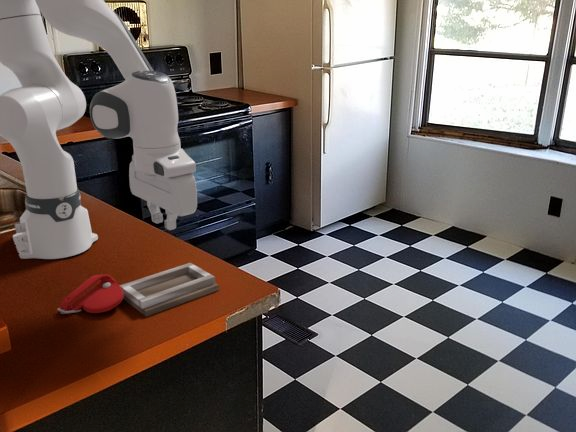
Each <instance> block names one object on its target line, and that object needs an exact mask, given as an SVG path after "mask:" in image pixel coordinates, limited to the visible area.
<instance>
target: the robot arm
mask: <svg viewBox="0 0 576 432" xmlns="http://www.w3.org/2000/svg"><path fill="white" fill-rule="evenodd" d="M42 17H43V18H44V19H45V20H46V21H47V23H48V24H49V26H51V27H52V28H53V29H55V30H56V31H58V32H60V33H62V34H65V35H68V36H71V37H74V38H79V39H81V40H85V41H86V42H90V43H92V44H95V45H97V46H98V47H100V48H101V49H102V50H104V51H106V53H107V54H108V55H109V56H110V57H111V59H112V60H113V62H114V64H115V65H116V67H117V68H118V70H119V72H120V73H121V75H122V77H123V78H124V80H123V81H122V82H121V83H118V84H117V85H114V86H112V87H108V88H105V89H103V90H101V91H98V92H96V93H95V94H94V96H93V97H92V99H91V102H90V105H89V117H90V120H91V123H92V126H93V127H94V129H95V130H96V131H97V133H99V135H101V136H102V137H104V138H106V139H122V138H126V137H130V138H131V139H132V146H133V147H132V148H133V154H132V156H131V162H130V163H129V168H128V169H129V170H128V173H129V174H128V177H129V178H128V179H129V188H130V192H131V194H132V195H134V196H135V197H138V198H140V199H142V200H144V201H146V205H147V208H148V210H149V212H150V214H151V221H152V222H153V223H155V224H160V223H163V222H164V228H165V229H167V230H168V231H172V230H175V229H176V228H177V219H178V217H184V216H188V215H192V214H194V213H195V212H196V210H197V208H198V195H197V194H198V192H197V182H196V178H195V176H194V174H193V173H195V172H196V170H197V165H196V162H195V160H193V158H192V157H190V156H189V155H188V154H187V153H186V152H185V149H183V148H181V138H180V136H179V133H178V126H179V125H178V124H179V109H178V99H177V94H176V90H175V86H174V83H173V81H172V79H171V77H169V76H168V75H167V74H165V73H162V72H160V71H156V70H154V69H153V67H152V65H151V64H150V63H149V61H148V59H147V57H146V56H145V54H144V53H143V51H142V49H141V47H140V46H139V43H138V42H137V41H136V39H135V38H134V36H133V34H132V33H131V31H130V29H129V28H128V26H127V25H126V23H125V22H124V20H123V19H122V18H121V17H120V16H119V15H118V14H117V12H115V11H114V10H113V9H112V8H111V7H110V6H109V5H108V3H106V1H105V0H0V64H1V65H3V67H6V68H8V69H9V70H10V71H11V72H12V73H13V74H14V76H15V77H17V80H18V81H19V82H20V83H19V84H20V85H21V86H20V87H15V88H12V89H9V90H7V91H5V92H3V93H1V94H0V137H2V139H4V140H7V142H9V143H10V145H11V146H12V147H13V150H14V151H15V153H16V155H17V157H18V160H19V161H20V165H21V168H22V173H23V179H24V183H25V184H24V185H25V189H26V194H25V199H24V204H25V210H24V212H23V213H22V215H21V216H20V217H19V222H20V223H15V224H14V229H15V234H13V235H12V240H13V243H14V246H15V245H16V246H15V248H16V251H17V253H19V254H18V257H19V258H20V259H25V260H26V259H39V260H40V259H42V260H58V259H64V258H68V257H72V256H76V255H80V254H81V253H84V252H86V251H87V250H88V249H90V248H91V246H92V244H93V243H94V242H96V241H98V239H99V236H98V234H97V233H94V232H92V226H91V222H90V217H89V211H88V209H87V208H86V207H84V206H82V200H81V198H82V197H81V196H82V195H81V193H80V189H79V188H78V185H77V177H76V171H75V162H74V159H73V156H72V155H71V154H70V153H69V152H67V151H65V150H64V149H63V148H62V146H61V145H60V142H59V140H58V137H57V131H59V130H62V129H66V128H68V127H70V126H72V125H74V124H75V123H76V122H78V120H80V119H81V118H82V117H83V116H84V114H85V112H86V110H87V101H86V100H87V99H86V96H85V94H84V91H82V89H81V88H80V87H79V86H78V85H77V84H75V83H73V82H72V81H71V80H70V79H69V77H68V76H67V75H66V73H64V70H63V68H61V66H60V64H59V62H58V61H57V58H56V57H55V55H54V52H53V50H52V48H51V44H50V42H49V38H48V34H47V31H46V27H45V25H44V21H43V18H42ZM161 209H164V210H165V214H166V219H164V217H163V215H164V214H163V213H162V212H161Z"/></svg>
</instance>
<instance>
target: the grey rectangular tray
mask: <svg viewBox="0 0 576 432" xmlns="http://www.w3.org/2000/svg"><path fill="white" fill-rule="evenodd" d="M118 285H119V286H120V287H121V289H122V291H123V300H124V301H125V302H127V304H128V305H130V306H131V307H133V308H134V309H135V310H137V311H138V312H140V313H141V314H142V315H143V316H145V317H146V318H147V317H149V316H153V315H155V314H159V313H160V312H163V311H166V310H170V309H171V308H174V307H177V306H179V305H182V304H184V303H188V302H190V301H194V300H196V299H198V298H201V297H204V296H206V295H210V294H212V293H215V292H217V291H220V288H219V286H220V284H219V283H216V276H214V275H213V274H211V273H209V272H207V271H206V270H204V269H203V268H201V267H200V266H197V265H195V264H193V263H192V262H188V263H185V264H182V265H178V266H175V267H173V268H169V269H166V270H163V271H159V272H157V273H154V274H152V275H148V276H144V277H142V278H139V279H136V280H133V281H129V282H126V283H123V284H118Z"/></svg>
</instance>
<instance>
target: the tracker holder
mask: <svg viewBox="0 0 576 432" xmlns="http://www.w3.org/2000/svg"><path fill="white" fill-rule="evenodd" d="M98 281H100V282H99V283H98V284H96V283H97V282H98ZM95 284H96V286H94V287H93V285H95ZM119 285H120V284H118V283H117V281H116V280H115V278H114V277H113V276H111V275H110V274H106V273H103V274H95V275H92V276H90V277H89V278H87V279H86V280H85V281H84V282H82V283H81V284H80V285H79V286H78V287H77V288H75V289H74V290H73V291H72V292H71V293H69V294H68V295H67V296H66V297H65V298H64V299H63V300H62V302H60V305H59V306H60V307H58V308H57V311H59V312H60V314H62V315H67V316H70V315H73V314H74V313H75V314H76V313H79V312H82V311H83V310H84V311H85V312H86V313H89V314H99V313H104V312H105V313H106V312H108V311H111V310H112V309H115V308H116V307H118V305H119V304H121V303H122V301H123V300H124V299H123V291H122V289H121V287H120V286H119ZM91 287H93V288H92V289H91V290H89V291H88V292H86V291H87V290H88V289H90V288H91ZM85 292H86V293H85ZM84 293H85V294H84ZM82 294H83V295H82Z"/></svg>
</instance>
